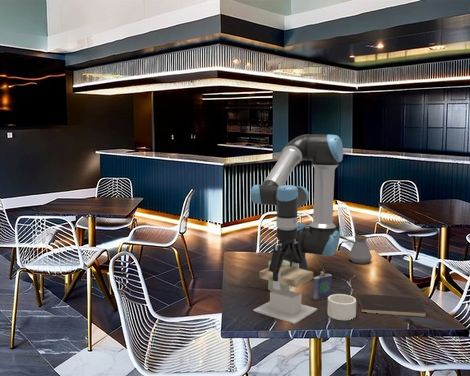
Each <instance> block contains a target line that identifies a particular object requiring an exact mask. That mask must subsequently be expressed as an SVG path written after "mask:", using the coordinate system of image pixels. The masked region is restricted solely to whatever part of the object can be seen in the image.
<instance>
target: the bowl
mask: <svg viewBox="0 0 470 376" xmlns="http://www.w3.org/2000/svg"><path fill="white" fill-rule="evenodd" d="M356 315H357V299H356V297H354V296H352V295H349V294H345V293H344V294H343V293H334V294H331V295H330V296H329V297H327V317H329V318H331V319H334V320H337V321H350V320H351V319H352V320H354V319H356ZM353 318H354V319H353ZM352 320H351V321H352Z"/></svg>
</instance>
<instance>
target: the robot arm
mask: <svg viewBox="0 0 470 376" xmlns="http://www.w3.org/2000/svg"><path fill="white" fill-rule="evenodd" d="M343 146H344V145H343V142H342V139H341V138H340V136H339V135H337V134H330V133H329V134H311V133H310V134H309V133H308V134H301V135H298V136H297V137H295V138H293V139H292V140H290V141H289V142H287V144H286V145H285V146H284V147H283V149H282V151H281V156H280V157H279V158H278V160H277V162H276V163H275V165H274V166H273V167H272V169H271V170H270V172H269V173H268V175H267V176H266V178H265V179H264V181H263V182H262V183H261V184H255V185H253V186H251V189H250V199H251V201H252V202H253V204H257V205H265V206H267V205H268V206H276V238H277V240H278V244H277V243H274V244H273V246H272V247H273V248H272V249H273V251H272V254H271V260H270V261H271V263H270V267H269V266H268V268H269V271H270V272H273V289H277V290H280V274H281V272H279V270H280V268H281V265H282V262H283V260H286V261H289V262H290V267H294V268H299V269H303V270H307V271H310V268H309V265H308V262H307V261H308V260H307V259H306V254H310V255H317V256H323V257H324V256H325V257H326V256H328V257H330V256H331V257H332V256H333V255H335V253H336V252H337V249H338V248H339V247H338V246H339V242H340V239H341V238H340V236H341V235H340V231H339V230H336V228H337V227H336V224H335V223H333V217H334V213H333V212H334V190H335V172H336V171H335V170H336V168H337V167H338V166H339V163H341V162H342V161H343V157H344V147H343ZM302 161H311V166H312V167H313V168H314V185H313V186H314V189H313V190H314V192H313V211H312V212H313V215H312V216H313V217H312V218H313V219H312V222H310V224H309V227H307V224H306V223H303V222H298V208H300V207H304V206H305V204H307V203H308V202H309V199H310V193H309V191H308V189H307V188H306V187H304V186H297V185H291V184H289V185H287V184H286V182H287V180H288V178H289V177H290V175H291V173H292V172H293V170H294V169H295V167H297V165H299V164H300V163H301V162H302ZM285 184H286V185H285Z"/></svg>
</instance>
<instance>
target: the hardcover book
mask: <svg viewBox="0 0 470 376" xmlns="http://www.w3.org/2000/svg"><path fill="white" fill-rule="evenodd" d="M357 298H358V302H359V304H360V305H359V306H360V311H361V313H362V312H367V314H376V313H378V314H377V315H379V314H380V315H393V316H408V317H409V316H410V317H423V318H424V317H425V318H426V315H427V311H426V309H425V308H424V306H423V304H422V303H421V301H420V299H419V298H418V297H417V296H401V295H389V294H388V295H386V294H370V293H369V294H368V293H357Z"/></svg>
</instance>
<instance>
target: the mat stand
mask: <svg viewBox="0 0 470 376" xmlns="http://www.w3.org/2000/svg"><path fill="white" fill-rule="evenodd" d="M317 311H318V308H316V307H313V306H309V305H306V304H302V293H301V292H296V291H293V290H286V289H282V288H280V290H277V289H275V290H273V291H270V292H269V301H268V302H266V303H264V304H261V305H260V306H258V307H255V308H254V309H253V312H256V313H257V314H262V315H264V316H267V317H271V318H275V319H277V320H281V321H284V322H287V323H289V324H290V323H291V324H294V325H295V324H297V323H299V322H300V321H302V320H304V319H305V318H306V317H308V316H310V315H312V314H313V313H315V312H317Z"/></svg>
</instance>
